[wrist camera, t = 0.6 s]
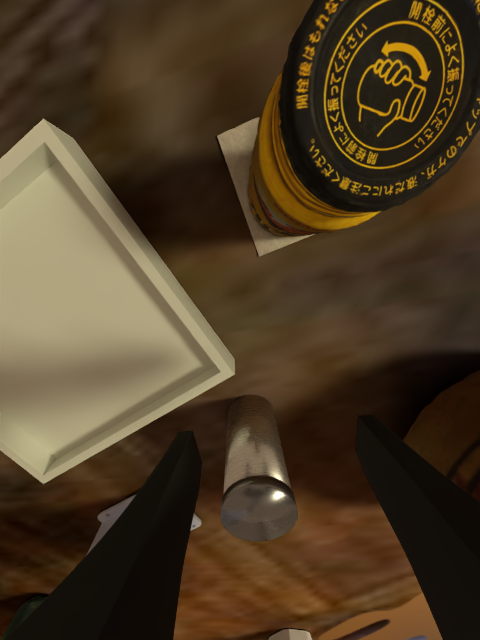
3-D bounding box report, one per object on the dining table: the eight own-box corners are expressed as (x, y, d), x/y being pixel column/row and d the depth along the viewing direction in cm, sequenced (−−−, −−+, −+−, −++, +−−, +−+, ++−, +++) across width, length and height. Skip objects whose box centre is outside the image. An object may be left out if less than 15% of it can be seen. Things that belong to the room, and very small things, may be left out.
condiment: (259, 256, 18) (297, 274, 7) (217, 136, 15) (161, -169, 4) (348, 220, 17) (568, 169, 6) (320, 88, 15) (604, -450, 3)
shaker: (243, 440, 24) (247, 550, 15) (217, 408, 22) (205, 509, 14) (283, 419, 23) (311, 523, 14) (258, 385, 22) (273, 477, 13)
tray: (62, 460, 24) (43, 483, 22) (-119, 308, 19) (-170, 317, 16) (234, 359, 21) (234, 374, 18) (73, 138, 15) (43, 118, 13)
